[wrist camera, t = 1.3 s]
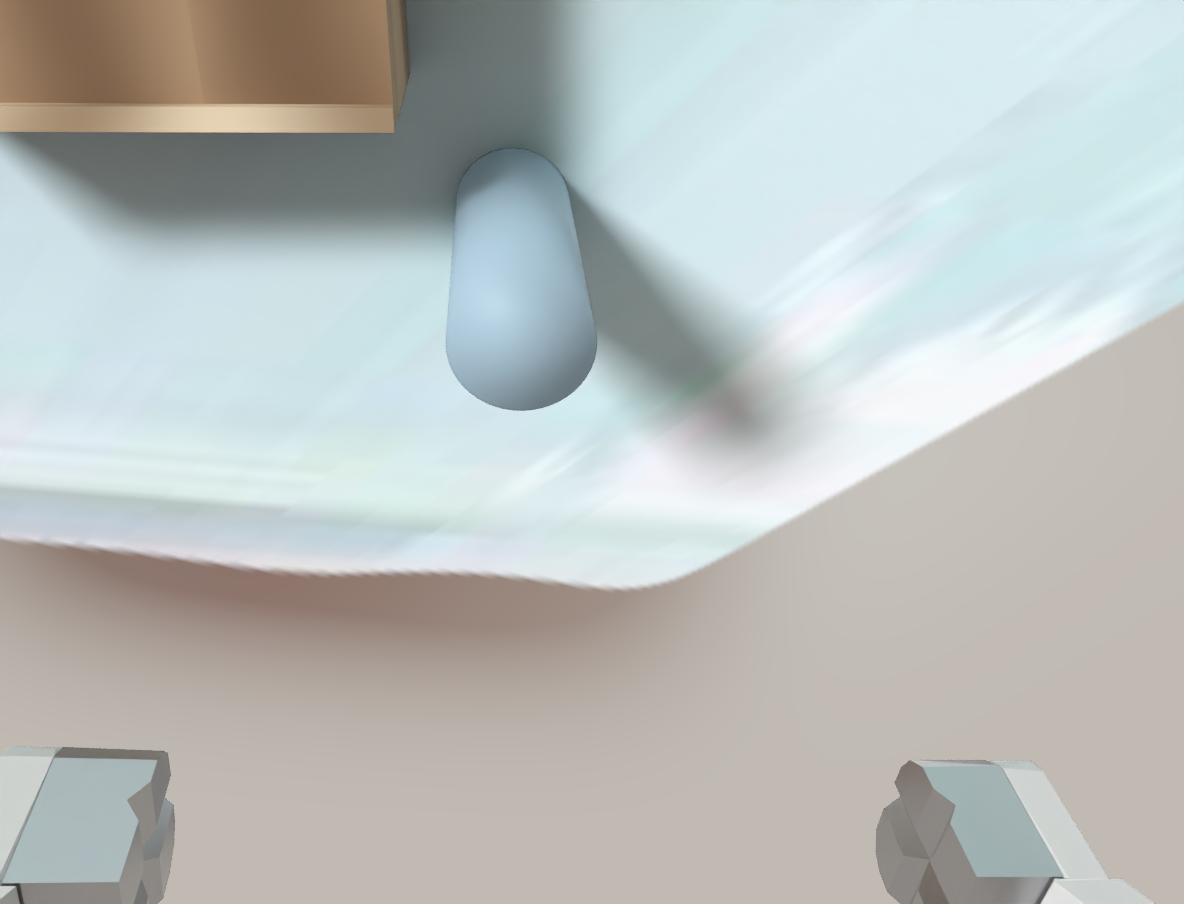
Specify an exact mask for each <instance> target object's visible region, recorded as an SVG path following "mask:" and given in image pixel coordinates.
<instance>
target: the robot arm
mask: <svg viewBox="0 0 1184 904" xmlns="http://www.w3.org/2000/svg"><path fill="white" fill-rule="evenodd" d="M170 776H171V773H170V765H169V758H168V753H167V752H165V751H154V750H153V751H152V750H126V749H101V748H99V749H98V748H74V747H62V748H57V747H27V746H9V747H8V748H7V749H6V750H5V751H4V752H3V753H2V754H1V755H0V904H157V903H159V902H160V901H161V900H162V899H163V897H164V893H165V889H166V885H167V881H168V877H169V873H170V867H171V861H172V854H173V847H174V832H175V817H174V805H173V804H172V803H171V802H170V801H168V800H167V799H166V798H165V794H166V791H167V787H168V784H169V780H170ZM895 785H896V787H897V789H898V791H899V793H900V797H899V798H898V799H896V800H895V801H894V802H892V803H891V804H890V805H888V806H887V807H886V808H884V809H883V812H882V815H881V818H880V821H879V823H878V826H877V829H876V856H877V861H878V866H879V871H880V874H881V877H882V880H883V882H884V885H885V887H886V890H887V892H888V893H889V894H890V895H891V896H892V897H894V898H895V899H896V900H897V901H898V902H899V903H900V904H1155V903H1153V902H1152V901H1151V900H1149V899H1148V898H1147V897H1145V896H1144V895H1143V894H1141V893H1140V892H1139V891H1137V890H1136V889H1134V888H1133V887H1132V886H1130V885H1129V884H1128V883H1126V882H1125V881H1124V880H1122V879H1111V878H1109V877H1108V876H1107V874H1106V872H1105V871H1104V869H1103V867H1102V866H1101V864H1100V863H1099V861H1098V859H1097V858H1096V856H1095V855H1094V853H1093V851H1092V850H1091V848H1090V846H1089V845H1088V843H1087V841H1086V840H1085V838H1084V837H1083V835H1082V833H1081V832H1080V830H1079V829H1078V827H1077V825H1076V824H1075V822H1074V821H1073V819H1072V817H1071V816H1070V814H1069V812H1068V811H1067V809H1066V807H1065V806H1064V804H1063V803H1062V801H1061V800H1060V798H1059V796H1058V794H1057V793H1056V791H1055V790H1054V788H1053V786H1052V785H1051V783H1050V781H1049V780H1048V778H1047V777H1046V775H1045V773H1044V772H1043V770H1042V769H1041V768H1040V767H1039V766H1037V765H1036V764H1035V763H1033V762H1032V761H986V760H910V761H908V762H907V763H906V764H905V765H904V766H902V767H901V769H900V771H899V774H898V776H897V778H896V781H895Z"/></svg>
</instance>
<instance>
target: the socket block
mask: <svg viewBox="0 0 1184 904" xmlns="http://www.w3.org/2000/svg"><path fill="white" fill-rule="evenodd" d="M409 74H410V71H409V55H408V39H407V24H406V8H405V0H0V132H241V133H394V132H395V128H396V124H397V121H398V117H399V113H400V109H401V105H402V101H403V98H404V94H405V90H406V86H407V82H408V78H409Z"/></svg>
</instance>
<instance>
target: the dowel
mask: <svg viewBox="0 0 1184 904" xmlns="http://www.w3.org/2000/svg"><path fill="white" fill-rule="evenodd" d="M596 349H597V334H596V329H595V324H594V319H593V314H592V309H591V304H590V299H589V294H588V289H587V284H586V279H585V274H584V269H583V264H582V259H581V254H580V249H579V244H578V239H577V234H576V229H575V223H574V218H573V213H572V208H571V203H570V198H569V193H568V189H567V186H566V183H565V181H564V179H563V177H562V175H561V174H560V172H559V171H558V170H557V169H556V167H555V166H554V165H553V164H552V163H551V162H549V161H548V160H547V159H545V158H544V157H542V156H541V155H539V154H537V153H535V152H532V151H529V150H525V149H519V148H505V149H500V150H496V151H493V152H490V153H488V154H486V155H484V156H482V157H481V158H479V159H478V160H477V161H475V162H474V163H473V164H472V165H471V166H470V167H469V169H468V170H467V171H466V173H465V174H464V176H463V178H462V180H461V182H460V184H459V188H458V191H457V198H456V211H455V224H454V238H453V251H452V264H451V278H450V291H449V304H448V317H447V331H446V352H447V357H448V361H449V364H450V366H451V369H452V371H453V373H454V374H455V376H456V378H457V379H458V381H459V382H460V383H461V384H462V385H463V387H464V388H465V389H467V390H468V391H469V392H470V393H471V394H472V395H474V396H475V397H477V398H478V399H480V400H482V401H483V402H485V403H488V404H490V405H493V406H495V407H499V408H503V409H508V410H520V411H524V410H534V409H539V408H543V407H546V406H550V405H552V404H554V403H557V402H559V401H561V400H562V399H564V398H566V397H567V396H568V395H570V394H571V393H572V392H574V391H575V390H576V389H577V388H578V387H579V386H580V385H581V383H582V382H583V381H584V380H585V378H586V377H587V375H588V373H589V372H590V370H591V368H592V365H593V363H594V359H595V355H596Z"/></svg>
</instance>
